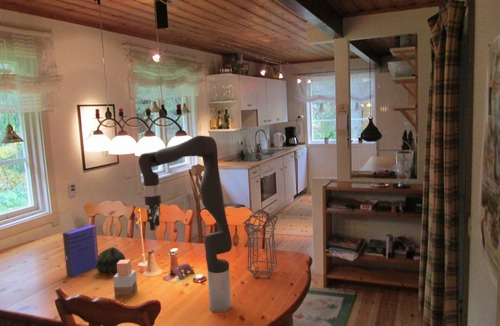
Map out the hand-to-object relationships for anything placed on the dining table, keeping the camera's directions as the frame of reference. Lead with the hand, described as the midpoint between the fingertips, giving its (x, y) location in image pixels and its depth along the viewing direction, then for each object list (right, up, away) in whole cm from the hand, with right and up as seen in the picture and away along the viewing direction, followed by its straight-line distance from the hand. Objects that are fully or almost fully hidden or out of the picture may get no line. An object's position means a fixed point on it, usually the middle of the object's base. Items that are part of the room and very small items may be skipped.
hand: (155, 227), depth 197 cm
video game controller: (+11, -28, +19) cm, 36 cm away
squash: (-30, -29, +28) cm, 50 cm away
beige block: (-14, -22, -2) cm, 26 cm away
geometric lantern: (+52, -27, +14) cm, 60 cm away
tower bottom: (-14, -32, 0) cm, 34 cm away
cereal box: (-47, -29, +31) cm, 63 cm away
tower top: (-14, -27, -1) cm, 30 cm away
